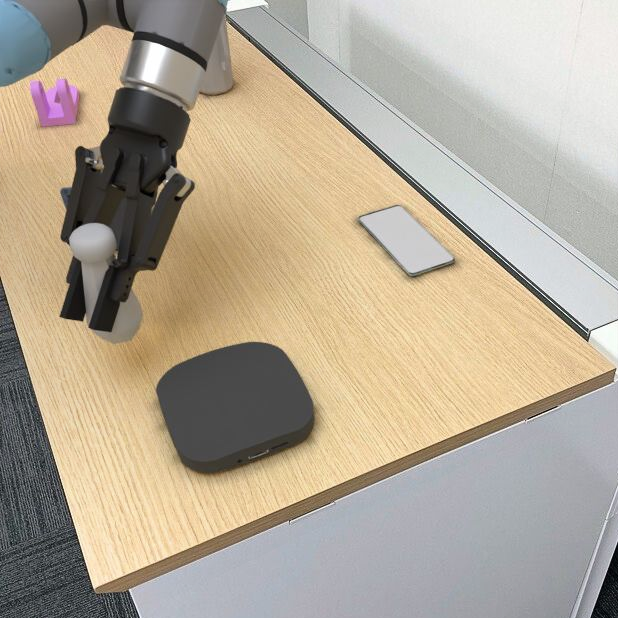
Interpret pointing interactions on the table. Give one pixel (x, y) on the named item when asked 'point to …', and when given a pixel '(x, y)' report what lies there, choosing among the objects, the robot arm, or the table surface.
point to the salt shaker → (95, 261)
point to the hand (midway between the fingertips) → (85, 324)
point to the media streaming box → (234, 406)
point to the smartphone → (406, 240)
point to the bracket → (55, 103)
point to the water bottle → (219, 65)
